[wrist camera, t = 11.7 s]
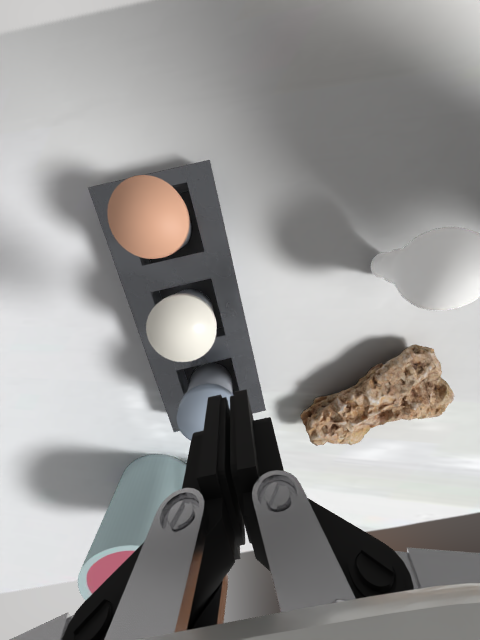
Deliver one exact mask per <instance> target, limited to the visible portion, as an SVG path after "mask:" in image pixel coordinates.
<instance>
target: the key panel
mask: <svg viewBox="0 0 480 640" xmlns="http://www.w3.org/2000/svg"><path fill="white" fill-rule="evenodd" d="M146 175H149V176H154V177H157V178H160V179H162V180H164V181H165V182H167V183H168V184H170V185H171V186H172V187H173V188H174V189H175V190H176V191H177V192H178V193H183V192H187V191H189V192H190V196H191V200H192V204H193V208H194V212H195V216H196V220H197V224H198V228H199V232H200V236H201V240H202V244H203V248H204V252H200V253H195V254H191V255H187V256H182V257H178V258H174V259H169V260H165V261H161V262H156V263H152V264H151V262H150V259H147V258H142V257H138V256H136V255H134V254H132V253H130V252H128V251H127V250H126V249H124V248H123V247H122V246H121V245H120V244H119V243H118V241H117V240H116V239H115V237H114V235H113V234H112V231H111V229H110V226H109V223H108V216H107V210H108V203H109V200H110V197H111V195H112V193H113V191H114V190H115V189H116V187H117V186H118V185H119V184H120V183H121V182H123V181H124V180H126V179H124V180H119V181H115V182H111V183H106V184H102V185H97V186H93V187H88V189H89V191H90V194H91V197H92V200H93V203H94V206H95V209H96V211H97V214H98V217H99V220H100V223H101V226H102V229H103V231H104V234H105V237H106V240H107V243H108V246H109V248H110V251H111V254H112V257H113V260H114V263H115V266H116V268H117V271H118V274H119V277H120V280H121V283H122V286H123V288H124V291H125V294H126V297H127V300H128V303H129V305H130V308H131V311H132V314H133V317H134V320H135V323H136V325H137V328H138V331H139V334H140V337H141V340H142V343H143V345H144V348H145V351H146V354H147V357H148V360H149V362H150V365H151V368H152V371H153V374H154V377H155V380H156V382H157V385H158V388H159V391H160V394H161V397H162V400H163V402H164V405H165V408H166V411H167V414H168V417H169V419H170V422H171V425H172V428H173V431H174V432H176V431H180V429H179V427H178V424H177V412H178V409H179V405H180V402H181V399H182V398H183V396H184V395H185V394H186V393H187V392H188V387H189V384H188V380H187V377H186V374H185V371H184V369H185V368H189V367H194V366H198V365H202V364H206V363H211V362H215V361H219V360H223V359H228V358H231V359H232V363H233V367H234V371H235V375H236V379H237V383H238V387H239V391H241V390H246V389H247V393H248V397H249V402H250V406H251V411H252V413H257V412H261V411H265V410H266V409H265V405H264V400H263V396H262V391H261V387H260V382H259V378H258V374H257V369H256V365H255V360H254V356H253V351H252V347H251V342H250V338H249V333H248V329H247V324H246V320H245V316H244V311H243V307H242V302H241V298H240V293H239V289H238V284H237V280H236V275H235V271H234V266H233V262H232V258H231V253H230V249H229V244H228V240H227V235H226V231H225V226H224V222H223V217H222V213H221V208H220V204H219V200H218V195H217V191H216V186H215V182H214V177H213V173H212V168H211V164H210V160H207V161H203V162H199V163H194V164H190V165H185V166H181V167H177V168H172V169H168V170H163V171H159V172H155V173H150V174H146ZM210 278H211V279H212V283H213V287H214V291H215V295H216V299H217V303H218V307H219V311H220V315H221V319H222V323H223V327H220V328H217V329H216V337H215V341H214V343H213V345H212V347H211V348H210V350H209V351H208V352H207V353H206V354H204V355H203V356H202V357H200V358H198V359H196V360H193V361H188V362H177V361H172V360H169V359H167V358H165V357H163V356H161V355H160V354H159V353H157V352H156V351H155V349H154V348H153V347H152V346H151V344H150V342H149V340H148V337H147V333H146V323H147V319H148V316H149V314H150V312H151V310H152V309H153V308H154V307H155V305H157V304H158V303H159V302H160V301H161V300H162V297H161V294H160V291H159V290H163V289H167V288H171V287H176V286H180V285H184V284H189V283H193V282H197V281H202V280H206V279H210ZM233 395H234V392H233Z"/></svg>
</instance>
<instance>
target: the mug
mask: <svg viewBox="0 0 480 640" xmlns="http://www.w3.org/2000/svg"><path fill="white" fill-rule="evenodd" d="M185 470H186V464H185V463H183V462H182V461H180V460H179V459H177V458H174V457H172V456H168V455H162V454H153V455H147V456H143V457H141V458H138V459H137V460H135V461H133V462H132V463H131V464H130V465H129V466H128V467H127V468H126V469H125V471H124V473H123V475H122V477H121V479H120V482H119V484H118V486H117V489H116V491H115V493H114V495H113V498H112V500H111V502H110V505H109V507H108V509H107V511H106V514H105V516H104V518H103V520H102V523H101V525H100V527H99V530H98V532H97V534H96V536H95V539H94V541H93V543H92V545H91V548H90V550H89V552H88V555H87V557H86V559H85V561H84V564H83V566H82V568H81V571H80V573H79V576H78V588H79V591H80V593H81V595H82V597H83V598H84V599H85V600H87V599H88V598H89V597H90V596H91V595H92V594H93V593H94V592H95V591H96V590H97V589H98V588H99V587H100V586H101V585H102V584H103V583H104V582H105V581H106V580H107V579H108V578H109V577H110V576H111V575H112V574H113V573H114V572H115V571H116V570H117V569H118V568H119V567H120V566H121V565H122V564H123V563H124V562H125V561H126V560H127V559H128V558H129V557H130V556H131V555H132V554H133V553H134V552H135V551H136V550H137V549H138V548H139V547H140V545H141V544H142V543H143V542H144V541H145V539H146V537H147V534H148V532H149V529H150V527H151V524H152V522H153V520H154V517H155V515H156V512H157V510H158V509H159V507H160V505H161V504H162V502H163V501H164V500H165V499H166V498H167V497H168V496H169V495H171V494H172V493H173V492H175V491H178V490H180V489H182V485H183V480H184V475H185Z"/></svg>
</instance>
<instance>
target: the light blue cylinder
mask: <svg viewBox="0 0 480 640" xmlns="http://www.w3.org/2000/svg"><path fill="white" fill-rule="evenodd" d="M216 395H221V396H222V398H224V397H227V400H228V404H229V408H230V396H234V395H233V391H232V379H231V375H230V373H229V372H228V370H227V369H226V368H225V367H223V366H222V365H219V364H216V363H206V364H203V365H201V366H199V367H198V368H196V369H195V370H194V372H193V373H192V376H191V379H190V383H189V387H188V392H187V393H186V394H185V395H184V396H183V398H182V399H181V402H180V405H179V409H178V412H177V424H178V427H179V429H180V431H181V433H182V434H183V435H184V436H185V437H186V438H188V439H189V440H192V435H193V433H194V432H199V431H203V429H204V422H205V415H206V408H207V401H208V397H211V396H216Z"/></svg>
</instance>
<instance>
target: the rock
mask: <svg viewBox="0 0 480 640" xmlns="http://www.w3.org/2000/svg"><path fill="white" fill-rule="evenodd" d="M367 373H368V374H366V375H365V376H364V377H362V378H360V379H359V381H358V383H357V384H356V385H354V386H351V388H349V389H346V390H342V391H341V392H339V393H334V394H331V395H329V396H321V397H317V398H315V399H314V403H313V405H311V406H310V408H308V409H306V410H304V411H303V413H302V414H301V415H300V416H301V419H302V421H303V424H304V425H305V426H306V431H307V433H308V435H309V438H310V441H311V442H312V443H313V444H315V445H316V446H317V445H324V444H325V443H326V442H327V441H328V442H330V443H333V444H350V445H352V444H355V443H358V442H360V441H361V440H362V438H363V437H364V434H366V433H367V432H368V431H369V430H370V428H372V427H375V426H377V425H383V424H385V423H386V422H391V421H396V420H400V419H405V420H411V419H415V418H418V419H423V418H430V417H437V416H440V415H441V414H442V412H444V411H445V409H446V407H447V406H448V404H449V403H451V402H452V401H453V399H454V394H453V391H452V390H451V388H450V387H449V385H448V384H447V382H446V381H444V380H443V379H442V378H441V377H440V375H441V373H442V371H441V365H440V362H439V361H438V360H437V358H436V356H435V353H434V349H432V348H428V347H422V346H418V345H412V346H410V347H408V348H406V349H405V350H404V351H402V352H401V354H400V355H399V356H397V357H395V358H393V359H390V360H389V361H388V362H386V363H385V364H384V365H383V364H382V363H380V364H377V365H376V366H375V367H373V368H371V369H370V370H369V371H368V372H367Z"/></svg>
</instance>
